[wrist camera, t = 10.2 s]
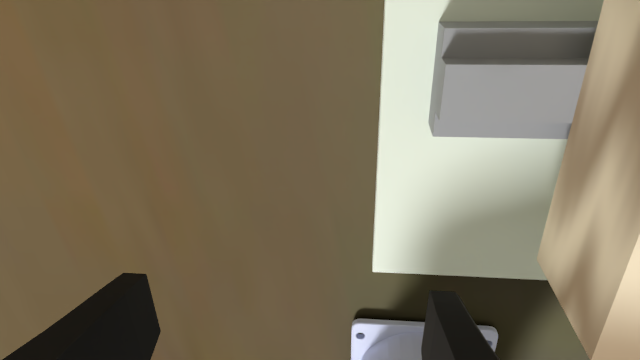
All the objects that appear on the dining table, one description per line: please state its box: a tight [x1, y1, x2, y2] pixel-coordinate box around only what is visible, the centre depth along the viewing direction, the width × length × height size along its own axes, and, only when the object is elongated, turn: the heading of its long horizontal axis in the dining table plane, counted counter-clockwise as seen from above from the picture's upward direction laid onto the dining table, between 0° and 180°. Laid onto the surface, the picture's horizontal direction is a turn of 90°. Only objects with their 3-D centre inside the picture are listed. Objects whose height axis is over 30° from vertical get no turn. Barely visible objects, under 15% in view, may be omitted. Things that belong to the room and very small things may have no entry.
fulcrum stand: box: [372, 0, 604, 280], centre depth 16 cm, size 20×16×4 cm
